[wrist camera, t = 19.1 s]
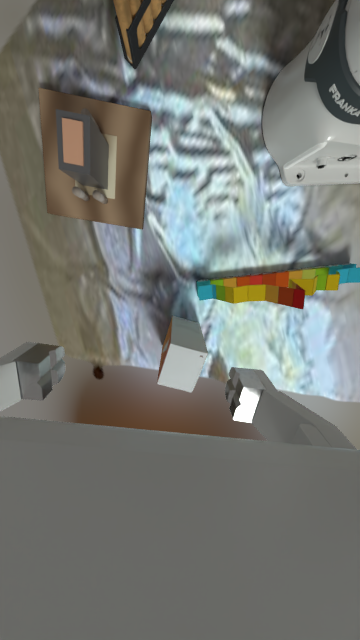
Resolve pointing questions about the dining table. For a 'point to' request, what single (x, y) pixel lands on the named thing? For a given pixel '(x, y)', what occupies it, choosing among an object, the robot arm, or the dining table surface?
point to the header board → (123, 165)
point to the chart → (278, 285)
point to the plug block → (82, 149)
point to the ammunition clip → (138, 25)
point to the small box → (182, 355)
